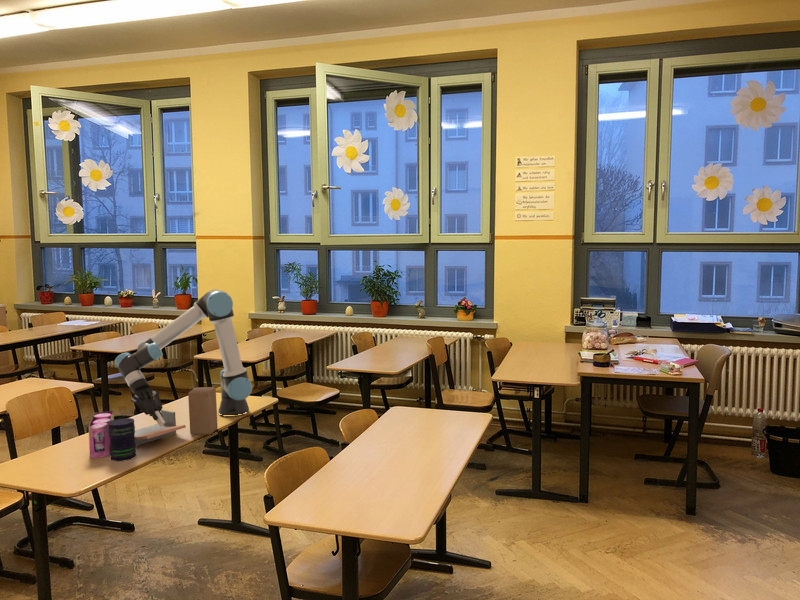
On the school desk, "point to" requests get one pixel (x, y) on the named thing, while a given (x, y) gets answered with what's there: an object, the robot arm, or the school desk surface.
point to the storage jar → (122, 439)
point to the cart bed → (157, 427)
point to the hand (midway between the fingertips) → (162, 424)
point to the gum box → (100, 434)
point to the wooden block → (202, 410)
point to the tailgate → (160, 432)
